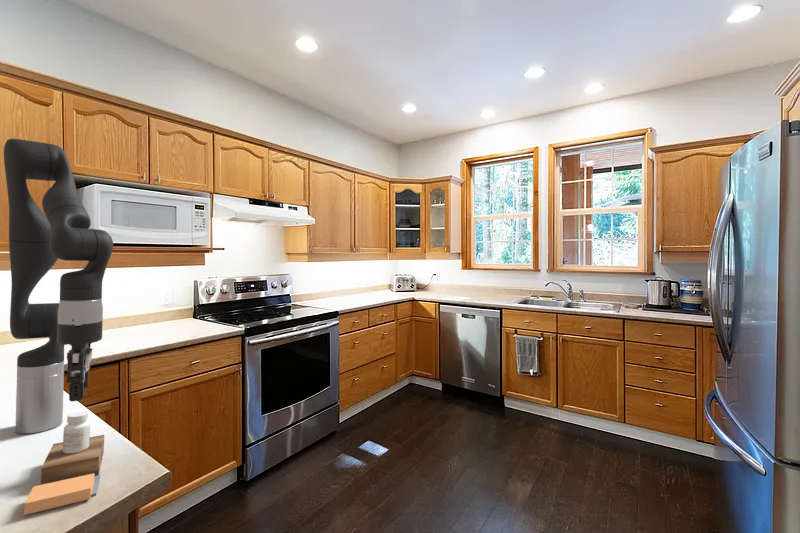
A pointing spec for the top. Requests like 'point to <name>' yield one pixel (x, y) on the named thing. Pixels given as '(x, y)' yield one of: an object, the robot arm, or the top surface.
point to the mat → (95, 485)
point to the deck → (72, 462)
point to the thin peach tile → (59, 493)
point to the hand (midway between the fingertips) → (79, 393)
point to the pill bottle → (76, 433)
